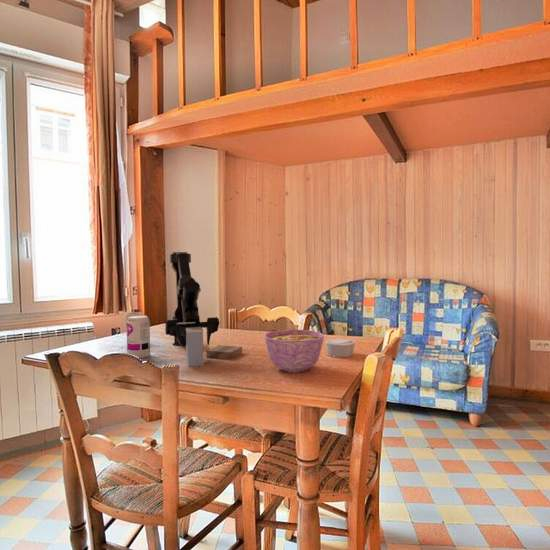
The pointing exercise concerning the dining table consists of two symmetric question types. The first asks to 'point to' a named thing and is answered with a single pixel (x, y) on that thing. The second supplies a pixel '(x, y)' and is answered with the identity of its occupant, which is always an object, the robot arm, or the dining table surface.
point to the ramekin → (340, 347)
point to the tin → (194, 346)
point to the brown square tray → (224, 352)
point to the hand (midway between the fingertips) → (195, 345)
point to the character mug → (131, 315)
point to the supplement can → (138, 336)
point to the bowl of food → (294, 348)
